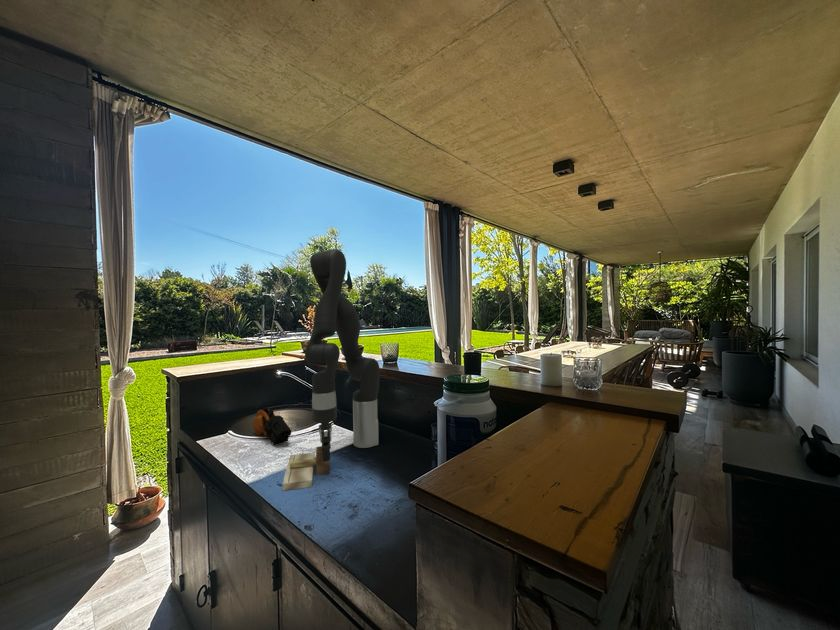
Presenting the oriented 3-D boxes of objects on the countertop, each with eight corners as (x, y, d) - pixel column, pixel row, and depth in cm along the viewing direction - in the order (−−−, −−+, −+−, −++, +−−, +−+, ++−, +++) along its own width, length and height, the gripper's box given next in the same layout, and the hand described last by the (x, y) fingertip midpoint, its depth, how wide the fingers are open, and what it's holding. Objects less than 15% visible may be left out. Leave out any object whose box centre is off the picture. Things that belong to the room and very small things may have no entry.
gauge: (329, 466, 113) (329, 443, 113) (329, 473, 108) (329, 449, 108) (290, 471, 110) (290, 447, 110) (289, 478, 105) (288, 453, 105)
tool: (270, 466, 129) (275, 433, 125) (248, 430, 144) (252, 399, 139) (290, 458, 135) (296, 427, 131) (267, 425, 150) (272, 395, 145)
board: (314, 458, 120) (314, 452, 119) (311, 486, 100) (311, 479, 100) (290, 460, 117) (290, 454, 117) (282, 490, 98) (282, 483, 98)
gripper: (337, 410, 104) (339, 462, 104) (335, 398, 117) (336, 444, 118) (311, 413, 102) (313, 467, 102) (312, 400, 115) (314, 447, 116)
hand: (326, 454), depth 110 cm, fingers open, 8 cm apart
